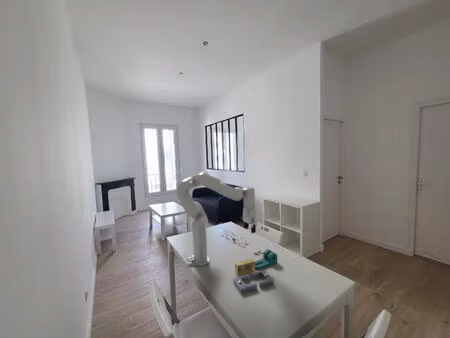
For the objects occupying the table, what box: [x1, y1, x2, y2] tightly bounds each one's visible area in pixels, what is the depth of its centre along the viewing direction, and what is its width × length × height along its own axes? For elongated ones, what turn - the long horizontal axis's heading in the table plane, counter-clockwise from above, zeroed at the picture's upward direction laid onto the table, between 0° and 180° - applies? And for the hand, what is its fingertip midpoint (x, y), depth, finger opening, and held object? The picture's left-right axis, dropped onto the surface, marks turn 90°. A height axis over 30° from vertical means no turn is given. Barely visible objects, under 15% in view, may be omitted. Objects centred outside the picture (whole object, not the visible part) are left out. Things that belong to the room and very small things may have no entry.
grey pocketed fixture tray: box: [232, 269, 275, 295], centre depth 120 cm, size 21×10×4 cm, turn 111°
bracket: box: [254, 248, 278, 271], centre depth 139 cm, size 18×7×8 cm, turn 120°
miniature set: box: [220, 229, 250, 247], centre depth 182 cm, size 6×35×12 cm
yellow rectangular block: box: [234, 258, 256, 277], centre depth 131 cm, size 12×4×7 cm, turn 111°
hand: (249, 230), depth 141 cm, fingers open, 9 cm apart
